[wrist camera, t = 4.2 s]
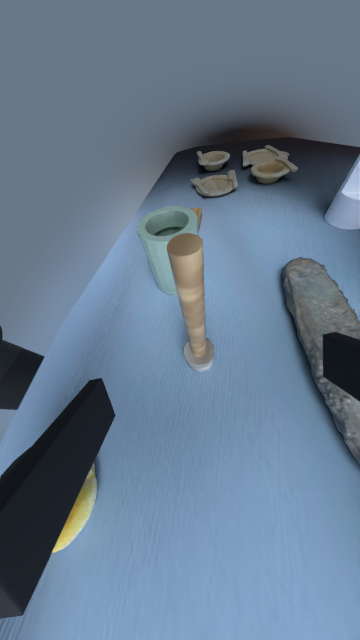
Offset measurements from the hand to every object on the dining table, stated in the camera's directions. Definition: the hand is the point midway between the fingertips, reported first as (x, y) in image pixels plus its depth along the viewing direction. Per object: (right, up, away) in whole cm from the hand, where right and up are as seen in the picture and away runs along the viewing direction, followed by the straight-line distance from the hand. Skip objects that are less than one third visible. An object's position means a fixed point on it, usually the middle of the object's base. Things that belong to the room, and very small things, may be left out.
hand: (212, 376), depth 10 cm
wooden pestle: (+1, -3, +19) cm, 19 cm away
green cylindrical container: (-2, +13, +29) cm, 32 cm away
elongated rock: (+22, 0, +17) cm, 28 cm away
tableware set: (+19, +56, +51) cm, 78 cm away
